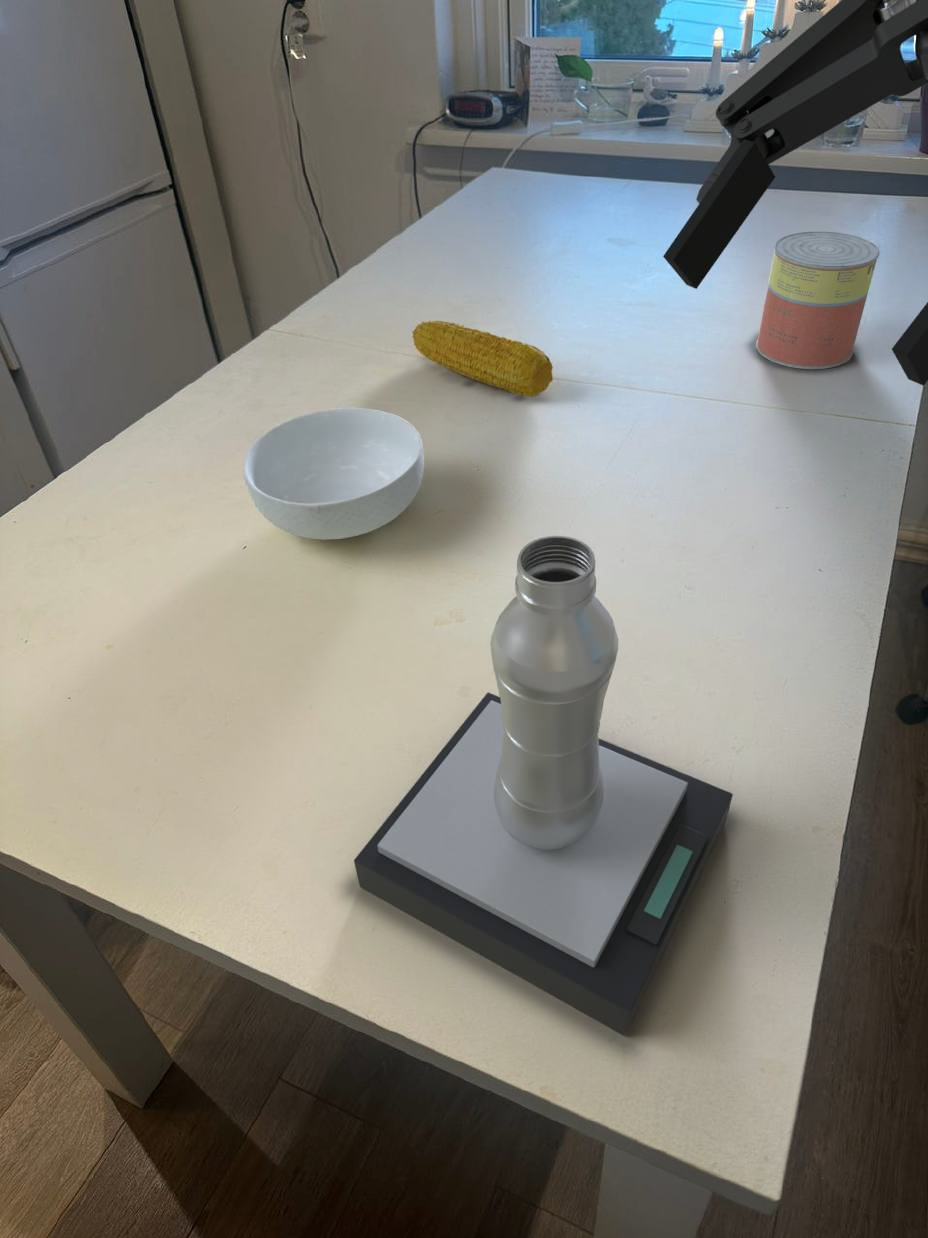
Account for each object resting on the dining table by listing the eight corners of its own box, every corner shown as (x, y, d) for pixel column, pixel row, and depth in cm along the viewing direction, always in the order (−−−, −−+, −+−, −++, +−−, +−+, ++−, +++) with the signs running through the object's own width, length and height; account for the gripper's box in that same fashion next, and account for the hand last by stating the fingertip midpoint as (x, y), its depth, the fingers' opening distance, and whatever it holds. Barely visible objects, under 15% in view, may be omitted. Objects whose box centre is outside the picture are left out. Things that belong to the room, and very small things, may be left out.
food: (559, 392, 102) (560, 343, 98) (528, 411, 99) (528, 362, 95) (429, 345, 113) (425, 299, 109) (398, 360, 110) (393, 314, 106)
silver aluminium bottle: (473, 832, 53) (456, 575, 40) (531, 758, 57) (534, 502, 44) (566, 884, 50) (581, 626, 37) (620, 802, 54) (652, 543, 41)
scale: (725, 821, 57) (735, 785, 55) (625, 1037, 47) (631, 1005, 45) (489, 719, 65) (487, 683, 62) (359, 887, 55) (351, 853, 52)
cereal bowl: (310, 456, 94) (298, 395, 89) (454, 481, 89) (450, 419, 84) (223, 547, 82) (204, 484, 77) (383, 582, 77) (374, 516, 72)
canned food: (872, 360, 104) (901, 257, 96) (787, 376, 102) (810, 272, 94) (818, 323, 112) (840, 225, 104) (738, 337, 110) (755, 239, 102)
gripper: (836, -199, 41) (573, 202, 46) (1531, -249, 25) (1023, 376, 30) (880, -68, 47) (641, 279, 51) (1473, -41, 31) (1052, 461, 35)
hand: (780, 316), depth 41 cm, fingers open, 13 cm apart
